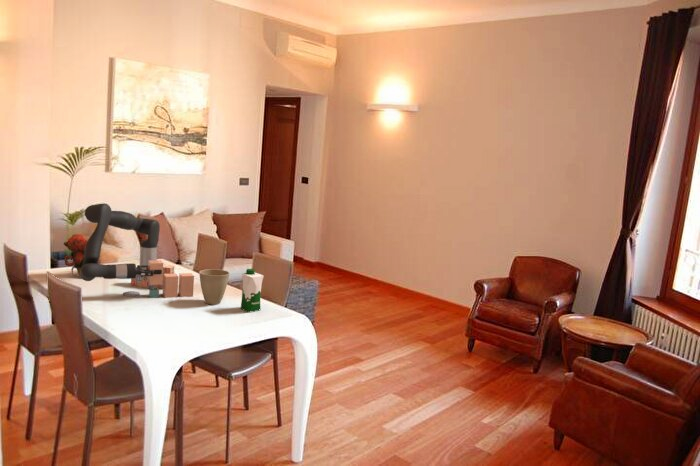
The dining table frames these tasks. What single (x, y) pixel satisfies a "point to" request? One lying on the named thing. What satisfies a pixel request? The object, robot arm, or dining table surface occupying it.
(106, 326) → the dining table surface
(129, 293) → the grey round disc
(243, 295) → the milk carton
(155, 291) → the green cube
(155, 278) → the salmon pink rectangular block
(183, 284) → the peach rectangular block
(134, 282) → the stack of blocks
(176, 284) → the salmon rectangular block
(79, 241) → the stuffed monkey
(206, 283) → the plant pot
